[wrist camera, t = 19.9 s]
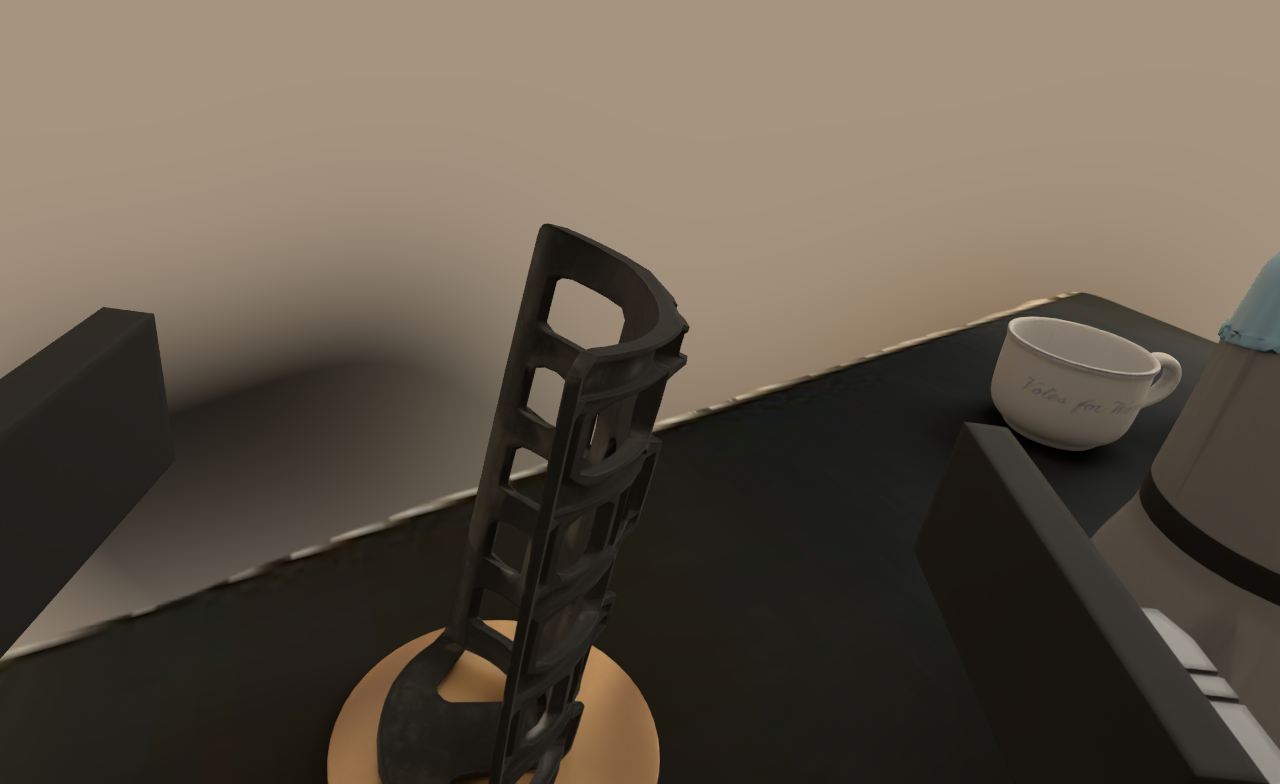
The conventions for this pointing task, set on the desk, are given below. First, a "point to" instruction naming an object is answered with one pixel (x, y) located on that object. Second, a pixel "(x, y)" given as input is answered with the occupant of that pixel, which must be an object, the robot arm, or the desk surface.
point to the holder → (544, 530)
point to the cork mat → (607, 734)
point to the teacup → (1075, 382)
